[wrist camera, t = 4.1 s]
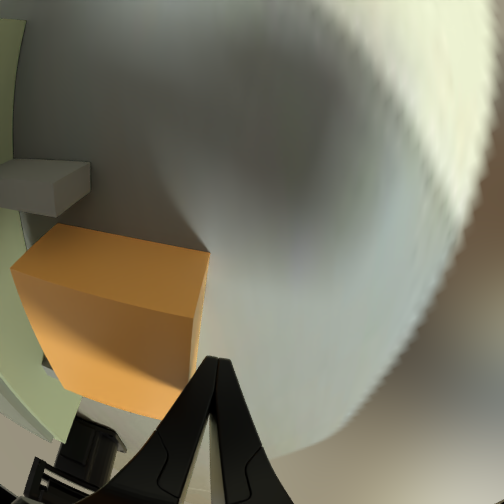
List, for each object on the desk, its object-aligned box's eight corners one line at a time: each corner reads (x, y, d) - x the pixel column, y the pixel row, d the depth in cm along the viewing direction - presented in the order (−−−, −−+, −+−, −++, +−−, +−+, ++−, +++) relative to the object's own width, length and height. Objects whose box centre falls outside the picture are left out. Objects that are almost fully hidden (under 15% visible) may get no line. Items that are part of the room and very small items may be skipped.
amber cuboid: (196, 364, 13) (186, 425, 10) (89, 337, 13) (64, 388, 10) (212, 244, 9) (193, 318, 6) (64, 217, 9) (9, 268, 6)
